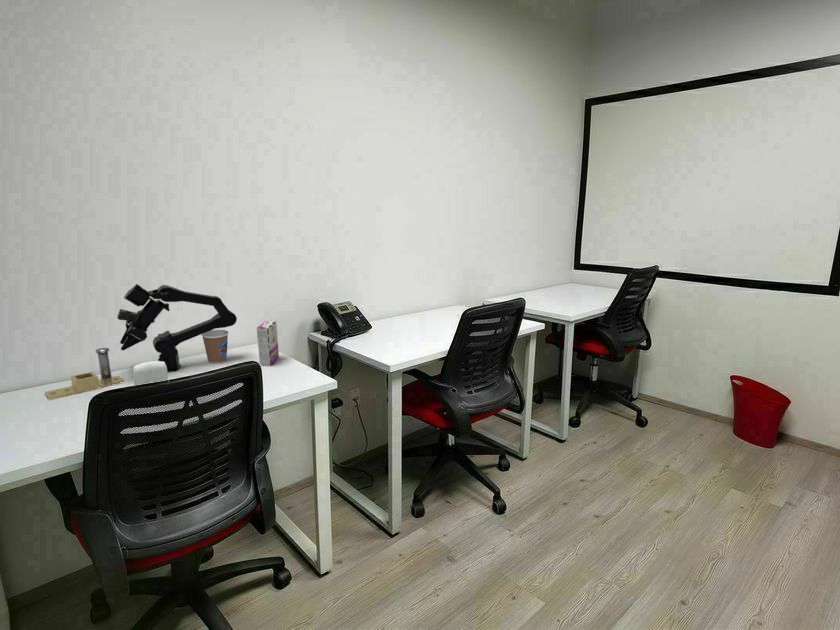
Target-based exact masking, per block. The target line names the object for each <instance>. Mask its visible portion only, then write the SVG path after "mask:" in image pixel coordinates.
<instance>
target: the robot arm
mask: <svg viewBox="0 0 840 630" xmlns="http://www.w3.org/2000/svg"><path fill="white" fill-rule="evenodd" d="M123 299H124V300H126V301H128V302H129V303H131V304H133V305H135V306H136V307H143V308H142V309H140V310H138V311H136V312H134V311H131V310H126V309H123V308H121V309H120V308H119V311H118V313H117V316H116V318H117V320H119V321H125V329H126V330H125V331H124V334H123V335H122V337H121V339H120V341H119V344H121V345H122V346H121V348H120V350H121V351H125V350H127V349H129V348H131V347H133V346H135V345H137V344H139V343H142V342H145V340H147V338H148V334H147V331H148V329H149V327H150V326H151V324H154V323H155V322H156V319H157V318H158V316H159V315H160V314H161V313H162V311H163V310H166V311H167V312H170V304H169V303H177V302H186V303H190V304H191V303H193V304H199V305H205V306H211V307H213V308H214V310H215V311H216V313H215V315H214V316H212V317H211V318H210V319H207V320H204V321H202V322H199V323H198V324H194V325H191V326H189V327H187V328H184V329H182V330H180V331H177V332H171V331H170V330H166V331H164V332H163V333H158V334H157V336H155V337H154V338H153V341H152V346H153V348H154V350H155V351H156V352H157V353H159V355H158V359H157V361H162V362H165V365H166V367H167V372H176V371H178V370H179V369H180V368H181V366H182V364H180V356H179V351H178V349H177V346H178V345H180V344H181V343H184V342H186V341H188V340H191V339H194V338H196V337H198V336H200V335H201V336H202V334H203V333H206V332H208V331H211V330H217V329H223V328H224V329H225V328H228V327H229V328H230V327H232V326H234V325H236V322H237V320H238V318H237V316H236V314H235V313H234V312H233V311H231V310H229V308H228V307H227V306H226V305H225V303H224V302H223V301H222V299H221V297H220V296H217V295H210V294H209V295H208V294H203V293H197V292H192V291H191V292H190V291H185V290H182V289H179V288H177V287H173V286H171V285H168V284H163V285H162V284H161V285H160V286H158V287H157V288H156V289H152V290H149V291H147V290H146V289H145V288H143V287H142V286H141V285H140V284H138V283H136V284H134V286H133V287H131V288H130V289H128V291H127V292H126V293H125V295H124V296H123Z"/></svg>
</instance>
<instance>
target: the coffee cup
mask: <svg viewBox="0 0 840 630" xmlns="http://www.w3.org/2000/svg"><path fill="white" fill-rule="evenodd" d="M201 336H202V340H203V344H204V348H205V354H206V358H207V361H208V363H210V364H219V362H221V363H224V362H226V361H227V354H228V342H229V341H228V340H229V339H228V336H229V331H228V330H225V329H213V330H211V331H208V332H206V333H203V334H201ZM225 360H226V361H225ZM223 361H224V362H223Z"/></svg>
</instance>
